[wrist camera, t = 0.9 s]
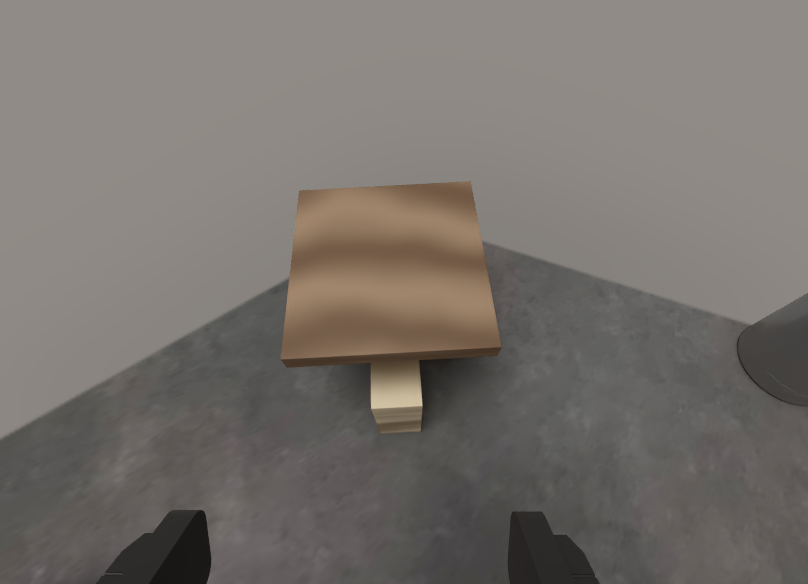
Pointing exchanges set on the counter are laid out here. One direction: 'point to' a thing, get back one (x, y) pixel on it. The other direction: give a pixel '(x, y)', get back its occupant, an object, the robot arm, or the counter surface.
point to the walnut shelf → (388, 277)
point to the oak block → (396, 396)
